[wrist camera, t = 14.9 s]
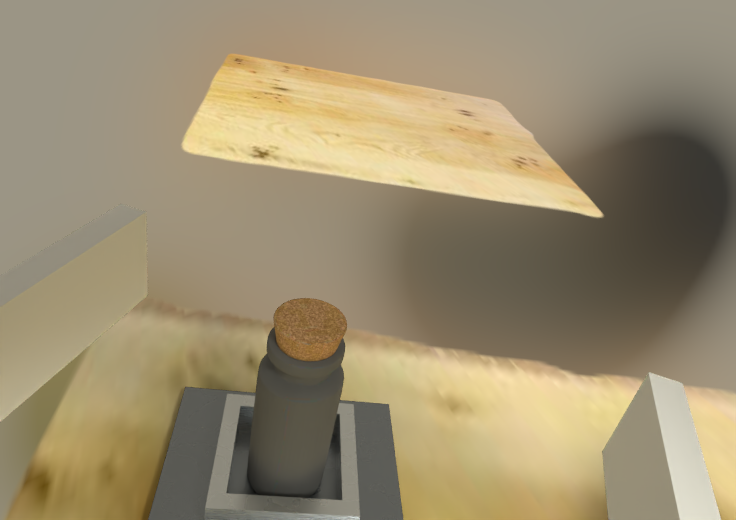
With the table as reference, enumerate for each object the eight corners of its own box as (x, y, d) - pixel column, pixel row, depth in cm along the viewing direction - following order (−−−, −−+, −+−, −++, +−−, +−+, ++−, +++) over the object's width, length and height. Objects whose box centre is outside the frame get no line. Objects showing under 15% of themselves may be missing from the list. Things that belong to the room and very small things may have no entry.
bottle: (323, 444, 48) (354, 297, 40) (322, 508, 43) (357, 354, 35) (251, 438, 47) (268, 287, 39) (242, 503, 42) (260, 344, 34)
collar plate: (386, 413, 54) (394, 384, 52) (407, 589, 40) (419, 558, 38) (185, 396, 51) (186, 365, 49) (134, 579, 37) (133, 545, 35)
